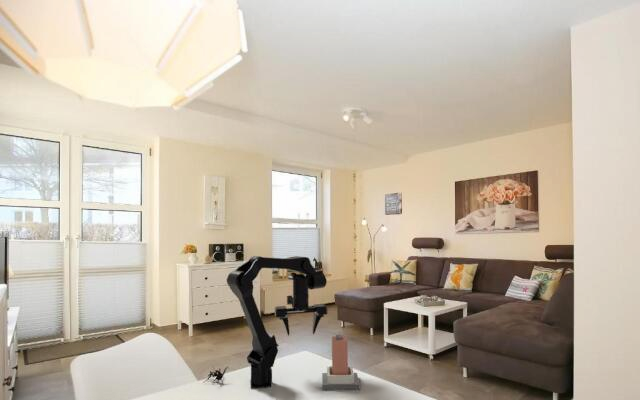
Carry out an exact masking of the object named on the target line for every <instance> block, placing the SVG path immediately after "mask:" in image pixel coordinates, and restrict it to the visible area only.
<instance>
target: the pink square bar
mask: <svg viewBox="0 0 640 400" xmlns="http://www.w3.org/2000/svg"><path fill="white" fill-rule="evenodd" d="M348 354H349V353H348V337H347V335H345V336H344V335H343V334H335V336H331V358H332V359H331V360H332V361H331V366H332V375H348V366H349V365H348V364H349V361H348V359H349V358H348Z"/></svg>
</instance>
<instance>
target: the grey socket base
mask: <svg viewBox="0 0 640 400" xmlns="http://www.w3.org/2000/svg"><path fill="white" fill-rule="evenodd" d="M321 375H322V376H321V377H322V378H321V379H322V380H321V382H322V383H321V385H322V386H321V387H322V388H321V389H322V391H327V390H328V391H329V390H330V391H332V390H333V391H334V390H335V391H337V390H339V391H340V390H341V391H343V390H345V391H346V390H347V391H348V390H349V391H350V390H360V389H361V384H360V380H359V376H358V373H357V372H354V369H353V366H350V365H348V375H332V365H331V366H327V367H326V372H322V373H321Z"/></svg>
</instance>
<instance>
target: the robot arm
mask: <svg viewBox="0 0 640 400" xmlns="http://www.w3.org/2000/svg"><path fill="white" fill-rule="evenodd" d="M262 269H278V270H287V271H290V272H291V274H290V275H288V276H287V279H288V280H292V295H286V305H287V306H291V308H290V307H289V308H288V307H286V305H279V306H275V307H274V315H275V318H278V319H279V320H282V321H283V325H284V327H285V331H286V334H287V336H288V337H289V336H290V326H289V317H288V316H287V315H289V314H290V315H291V314H308V313H312V315H313V317H312V318H313V319H312V320H313V321H312V334H313V335H315V333H316V330H317V327H318V325H319V324H320V323H319V322H320V320H321V319H322V318H324V317H325V315H328V307H327V306H326V305H325V304H324V303H318V304H317V303H315V304H313V306H309V302H310V301H309V298H310V297H309V296H310V295H309V290H316V289H317V290H319V289H324V288H325V287H326V286H327V282H328V281H327V277H326V275H325V274H324V271H323V270H321V269H317V270H316V269H315V268H314V266H313V264H312V263H311V260H310V258H309V257H306V256H297V255H296V256H289V257H285V258H282V257H267V256H264V257H263V256H259V255H258V256H257V255H253V256H251V257H250V258H249V259H248V260H247V261H245V262H243V263H242V264H241V265H240V266H238V267H237V268H236V269H235V270H232V271H231V272H230V273H229V274H228V276H227V278H226V284H227V285H228V288H229V289H230V290H231V292H232V293H233V294H234V295H235V297H237V299H238V301H239V303H240V306H241V309H242V311H243V314H244V317H245V319H246V322H247V324H248V328H249V329H250V330H249V331H250V333H251V335H252V340H251V346H252V350H251V351H250V352H249V354H248V355H247V356H246V360H247V362H248V364H250V380H249V382H250V388H251V389H258V388H267V387H270V388H271V387H272V383H273V369H272V367H274V364H275V360H276V357H277V355H278V353H279V348H278V347H279V344H278V342H277V340H276V336H275V335H274V334H272V333H270V332H267V329H266V327H265V325H264V322H263V319H262V317H261V315H260V311H259V308H258V306H257V303H256V300H255V297H254V295H253V293H254V283H253V281H255V279H256V278H258V275H259V273H260V271H261V270H262Z"/></svg>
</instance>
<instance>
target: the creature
mask: <svg viewBox="0 0 640 400" xmlns="http://www.w3.org/2000/svg"><path fill="white" fill-rule="evenodd" d="M212 368H213V369H214V371H209V374H207V379H205V380H204V381H203V382H202V383H204V382H207V383H208V382H210V383H212V384H215V381H218V382H220V381H223V377H224V375H225V373H226V371H227V369H228V368H229V366H226V367H225V368H224V370H223V373H222V372H221V368H218V369H215V367H214V366H213V367H212ZM209 378H210V379H211V378H215V379H214V380H213V381H210V379H209Z"/></svg>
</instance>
